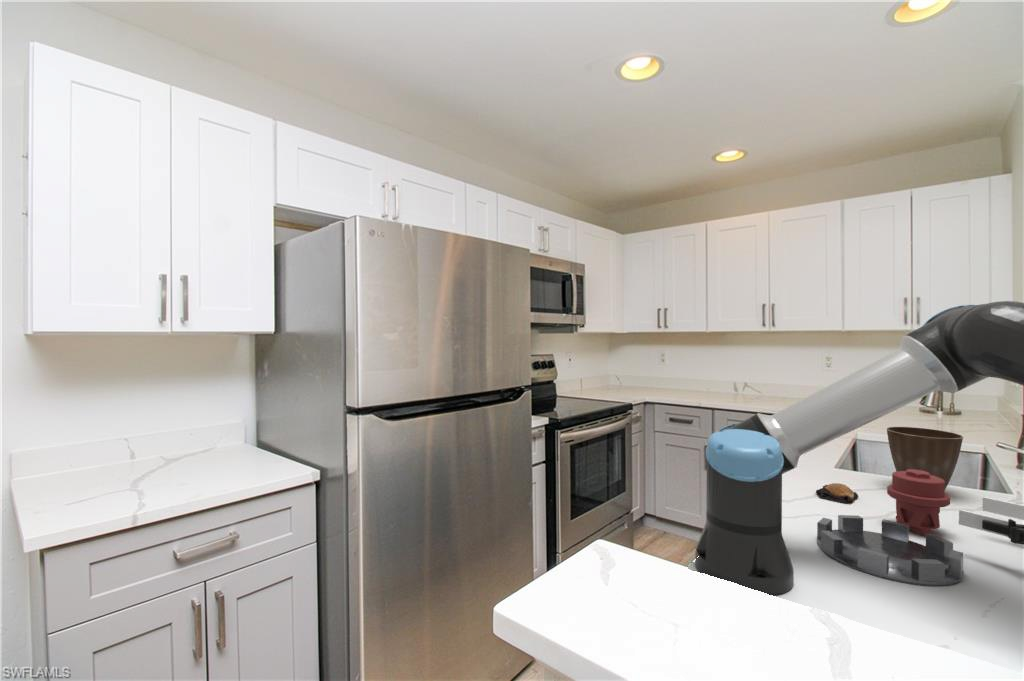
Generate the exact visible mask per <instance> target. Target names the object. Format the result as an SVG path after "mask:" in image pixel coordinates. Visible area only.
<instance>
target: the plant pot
mask: <svg viewBox="0 0 1024 681" xmlns="http://www.w3.org/2000/svg"><path fill="white" fill-rule="evenodd" d="M886 433H887V434H886V435H887V439H888V440H887V441H888V446H889V450H890V454H891V459H892V462H893V465H894V469H895V472H896V471H906V470H907V469H915V470H922V471H926V472H929V473H930V475H933V476H936V477H939V478H941V479H943V480H944V481H945V490H946V489H947V487H948V485H949V483H950V481H951V479H952V477H953V474H954V471H955V469H956V465H957V463H958V461H959V460H958V459H959V457H960V453H961V449H962V444H963V441H964V440H963V439H964V436H963V435H962V434H959V433H956V432H952V431H951V432H950V431H945V430H939V429H931V428H924V427H923V428H922V427H912V426H911V427H910V426H889V427H887V428H886Z"/></svg>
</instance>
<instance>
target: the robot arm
mask: <svg viewBox="0 0 1024 681" xmlns="http://www.w3.org/2000/svg"><path fill="white" fill-rule="evenodd" d="M987 378H996V379H1001V380H1004V381H1008V382H1012V383H1015V384H1018V385H1021V386H1023V387H1024V302H1021V301H1013V300H1011V301H1010V300H1004V301H993V302H989V303H988V302H987V303H981V304H965V305H957V306H953V307H949V308H946V309H944V310H941V311H939V312H937V313H936V314H934V315H933V316H932V317H930V318H929V319H928V320H926V322H924V324H923V325H922V326H919V328H917V329H914V330H912V331H911V332H909V333H907V334H905V335H904V336H902V337H901V339H900V344H899V347H898V348H897V350H895V351H893V352H891V353H889V354H887V355H884V356H882V357H880V358H879V359H877V360H875V361H874V362H872V363H869V364H868V365H866V366H863V367H862V368H860V369H858V370H856V371H854V372H852V373H850V374H849V375H846V376H845V377H843V378H842V377H841V379H838V380H837V381H836V382H833V383H832V384H829V385H827V386H825V387H823V388H822V389H820V390H818V391H816V392H814V393H812V394H810V395H808V396H807V397H804V398H802V399H801V400H799V401H796V402H795V403H793V404H791V405H788V406H787V407H785V408H783V409H781V410H779V411H777V412H775V413H774V414H771V415H769V414H763V413H761V412H758V413H756V414H754V415H751V416H750V417H748V418H746V419H744V420H742V421H741V422H737V423H732V424H729V425H725V426H723V427H721V428H720V429H719V430H717V431H715V432H713V433H712V434H710V435H709V437H708V439H707V441H706V442H707V443H706V448H705V458H706V491H705V492H706V500H705V502H706V509H705V510H706V512H705V513H706V516H705V517H706V518H705V524H704V526H703V528H702V531H701V535H700V537H699V540H698V541H697V542H698V543H697V546H696V547H695V554H694V555H695V556H694V557H695V559H696V560H695V559H694V561H695V567H696V569H697V570H698V571H699V573H700V572H702V573H705V574H708V575H710V576H714V577H717V578H720V579H724V580H727V581H731V582H734V583H737V584H739V585H742V586H745V587H748V588H751V589H754V590H758V591H761V592H764V593H767V594H770V595H769V596H774V595H780V594H784V593H786V592H789V591H790V590H791V589H792V588H793V586H794V585H795V584H794V581H795V580H794V576H795V573H794V572H795V571H794V570H795V569H794V566H793V563H792V560H791V558H790V554H789V552H788V548H787V546H786V542H785V540H784V537H783V528H782V526H783V525H782V524H783V522H782V520H783V474H786V473H787V472H790V471H791V470H793V469H796V468H797V467H798V463H799V459H800V457H801V456H802V455H805V454H806V453H809V452H811V451H813V450H815V449H817V448H820V447H822V446H823V445H825V444H827V443H830V442H832V441H834V440H836V439H838V438H840V437H842V436H844V435H846V434H848V433H850V432H852V431H855V430H857V429H859V428H861V427H863V426H865V425H868V424H869V423H872V422H874V421H876V420H878V419H880V418H882V417H884V416H886V415H888V414H890V413H892V412H894V411H897V410H898V409H901V408H903V407H905V406H907V405H909V404H911V403H913V402H915V401H917V400H919V399H921V398H924V397H926V396H927V395H930V394H931V393H934V392H943V393H944V392H945V393H949V394H955V393H957V392H960V391H962V390H964V389H966V388H968V387H971V386H972V385H975V384H977V383H979V382H981V381H984V380H985V379H987ZM982 511H983V512H988V513H992V514H996V515H1000V516H1005V517H1009V519H1008V520H1007V519H1004V518H999V517H995V516H990V515H985V514H982V513H978V512H973V511H969V510H964V509H962V508H960V509H958V525H959V526H960V525H961V526H963V527H967V528H971V529H976V530H980V531H984V532H986V533H990V534H996V535H997V536H998V535H999V536H1003V537H1005V538H1006V537H1007V538H1008V539H1010V542H1011V543H1013V544H1016V545H1022V546H1023V545H1024V524H1020V523H1017V521H1015V520H1013V519H1012V518H1014V519H1018V520H1022V521H1024V504H1019V503H1017V502H1010V501H1006V500H1003V499H1002V500H1001V499H998V498H993V497H992V498H991V497H987V496H982ZM698 556H699V557H698ZM697 557H698V558H697Z"/></svg>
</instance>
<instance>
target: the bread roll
mask: <svg viewBox="0 0 1024 681" xmlns="http://www.w3.org/2000/svg"><path fill="white" fill-rule="evenodd" d="M815 493H816V496H817V497H818V499H820V500H825V501H830V502H834V503H838V504H842V505H843V504H844V505H850V506H851V505H852V504H854V503H855V502H856V500H858V499H859V494H858V493H857V492H855V491H854V490H852V489H851V488H850V487H849V486H847V485H846V484H843V483H838V482H837V483H835V482H833V483H828V484H824V485H823V486H822V487H821V488H819V489H816V490H815Z"/></svg>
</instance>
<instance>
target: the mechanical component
mask: <svg viewBox="0 0 1024 681" xmlns="http://www.w3.org/2000/svg"><path fill="white" fill-rule="evenodd" d="M891 475H892V477H891V484H889V485H887V487H886V493H887V495H888V496H889V497H890V498H892V499H893V500H895V510H896V511H895V512H896V516H895V520H896V522H898V523H902V524H906V525H909V531H910V532H911V531H912V532H915V533H917V534H919V535H921V536H924V537H926V533H929V534H932V533H931V530H937V529H940V527H941V524H940V515H939V514H940V512H941V508H945V507H948V506H950V505H951V497H950V496H949V495H948V494H947V493H946V492H945V491H946V489H945V481H944V480H943V479H941V478H939V477H936V476H933V475H930V473H929V472H926V471H922V470H915V469H907V470H906V471H896V470H895V471H893V472H892V473H891Z"/></svg>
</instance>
